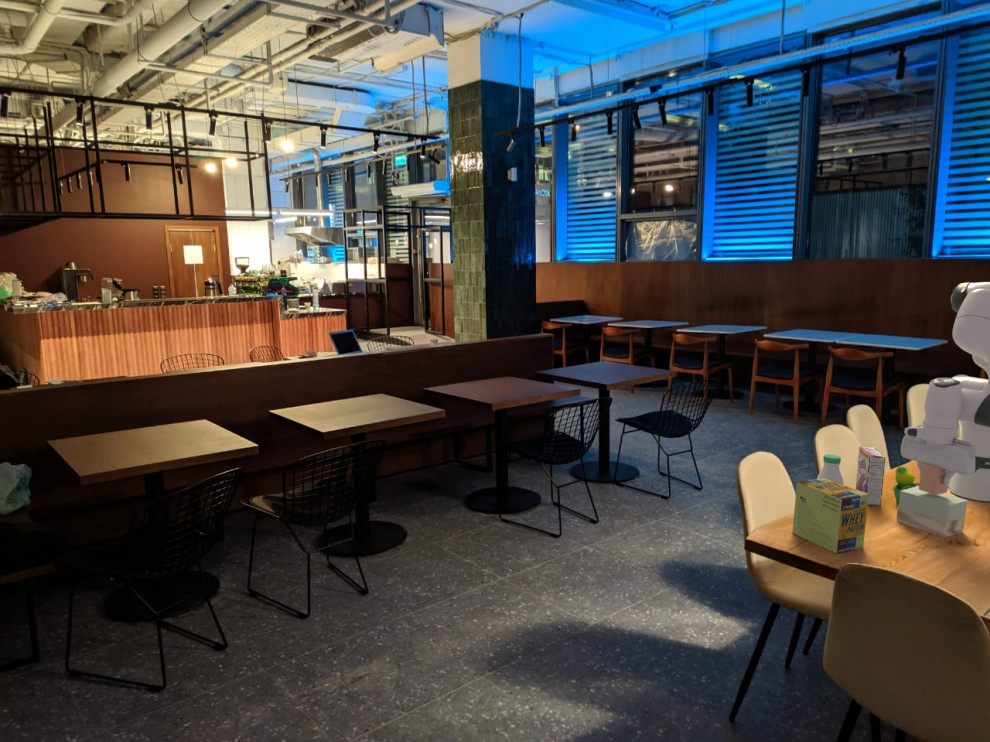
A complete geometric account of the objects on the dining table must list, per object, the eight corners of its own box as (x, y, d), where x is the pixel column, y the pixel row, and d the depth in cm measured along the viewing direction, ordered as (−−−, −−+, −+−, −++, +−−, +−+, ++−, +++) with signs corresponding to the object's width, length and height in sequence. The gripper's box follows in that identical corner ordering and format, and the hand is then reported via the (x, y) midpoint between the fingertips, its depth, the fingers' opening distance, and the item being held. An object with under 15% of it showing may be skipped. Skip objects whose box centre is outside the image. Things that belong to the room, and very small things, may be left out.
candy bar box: (853, 493, 231) (858, 446, 228) (870, 494, 230) (874, 447, 227) (864, 505, 220) (869, 455, 217) (881, 506, 219) (886, 456, 216)
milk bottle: (807, 515, 211) (812, 452, 208) (831, 515, 212) (837, 452, 208) (821, 525, 203) (827, 460, 200) (846, 524, 204) (852, 459, 201)
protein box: (836, 554, 184) (842, 499, 181) (791, 533, 198) (795, 481, 195) (864, 548, 188) (870, 493, 185) (818, 527, 202) (822, 476, 199)
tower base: (915, 516, 211) (917, 501, 211) (962, 533, 199) (964, 516, 198) (896, 521, 208) (897, 505, 207) (943, 538, 195) (945, 521, 194)
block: (930, 487, 204) (933, 461, 203) (946, 492, 200) (950, 466, 199) (918, 489, 203) (921, 463, 201) (935, 494, 198) (938, 468, 197)
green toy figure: (916, 509, 217) (920, 475, 215) (886, 501, 223) (889, 468, 222) (929, 501, 224) (933, 467, 222) (899, 493, 231) (902, 461, 229)
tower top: (916, 501, 210) (918, 486, 209) (965, 516, 198) (967, 500, 197) (898, 506, 206) (900, 490, 205) (947, 522, 194) (949, 505, 193)
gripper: (983, 442, 190) (977, 490, 193) (914, 425, 209) (909, 469, 211) (968, 445, 188) (962, 493, 190) (899, 427, 206) (894, 471, 209)
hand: (934, 480), depth 201 cm, fingers closed on block, 5 cm apart
